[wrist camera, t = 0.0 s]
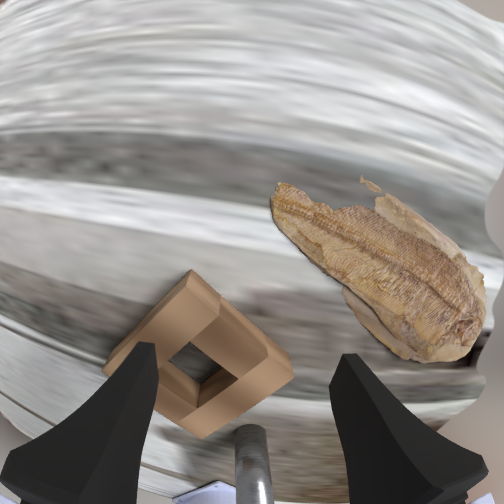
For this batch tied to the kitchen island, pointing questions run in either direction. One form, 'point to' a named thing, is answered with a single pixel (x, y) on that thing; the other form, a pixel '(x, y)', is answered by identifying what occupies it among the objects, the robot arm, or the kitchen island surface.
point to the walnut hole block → (216, 347)
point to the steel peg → (252, 466)
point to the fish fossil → (391, 272)
